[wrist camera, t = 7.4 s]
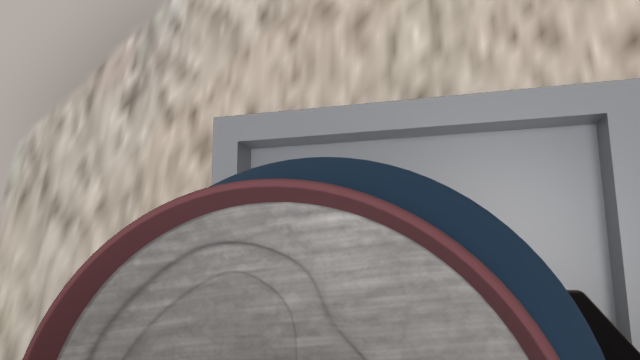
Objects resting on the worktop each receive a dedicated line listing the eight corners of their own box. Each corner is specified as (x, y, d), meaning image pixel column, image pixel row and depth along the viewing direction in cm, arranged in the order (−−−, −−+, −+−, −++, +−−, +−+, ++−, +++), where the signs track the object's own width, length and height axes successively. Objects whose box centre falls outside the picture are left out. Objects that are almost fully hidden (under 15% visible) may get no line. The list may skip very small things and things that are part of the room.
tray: (671, 562, 17) (705, 610, 15) (228, 504, 22) (200, 534, 19) (619, 99, 20) (640, 78, 18) (237, 131, 25) (213, 117, 22)
